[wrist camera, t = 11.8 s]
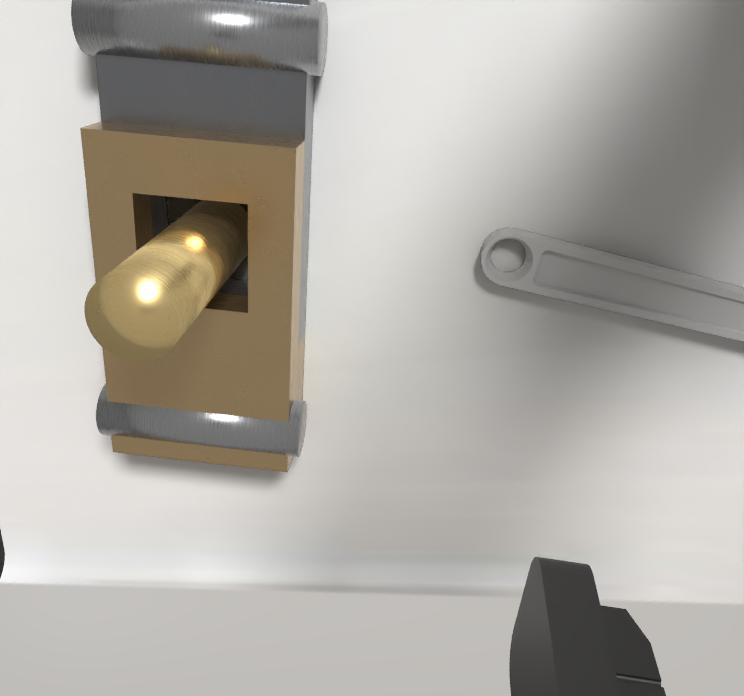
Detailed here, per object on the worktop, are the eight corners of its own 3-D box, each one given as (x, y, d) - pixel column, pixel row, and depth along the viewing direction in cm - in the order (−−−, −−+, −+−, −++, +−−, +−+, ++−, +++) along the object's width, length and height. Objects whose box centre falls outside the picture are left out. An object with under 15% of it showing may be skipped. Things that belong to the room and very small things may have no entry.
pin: (185, 193, 34) (79, 268, 24) (254, 200, 34) (176, 278, 24) (188, 260, 36) (89, 357, 26) (255, 267, 35) (181, 367, 26)
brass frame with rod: (97, -33, 30) (45, -39, 26) (329, -14, 30) (312, -17, 26) (134, 411, 40) (100, 455, 36) (310, 430, 39) (295, 477, 35)
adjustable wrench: (470, 269, 35) (471, 281, 33) (520, 142, 32) (524, 149, 31) (933, 422, 36) (956, 441, 35) (1020, 312, 33) (1049, 327, 32)
